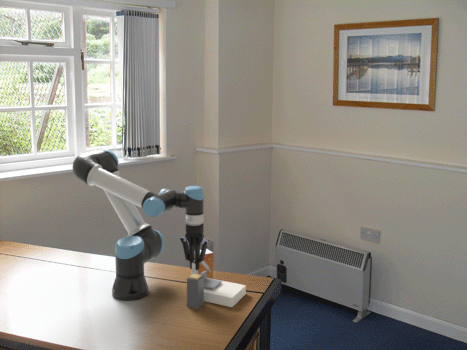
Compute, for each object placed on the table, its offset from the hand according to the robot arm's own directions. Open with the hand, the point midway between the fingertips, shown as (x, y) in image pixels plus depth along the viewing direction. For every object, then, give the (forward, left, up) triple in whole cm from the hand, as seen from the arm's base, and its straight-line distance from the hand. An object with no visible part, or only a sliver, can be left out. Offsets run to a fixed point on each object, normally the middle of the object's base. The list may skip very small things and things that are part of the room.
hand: (194, 276), depth 226 cm
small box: (-3, +13, -7) cm, 15 cm away
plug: (+7, -12, -7) cm, 15 cm away
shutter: (+7, 0, -2) cm, 7 cm away
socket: (+11, 0, -7) cm, 13 cm away
